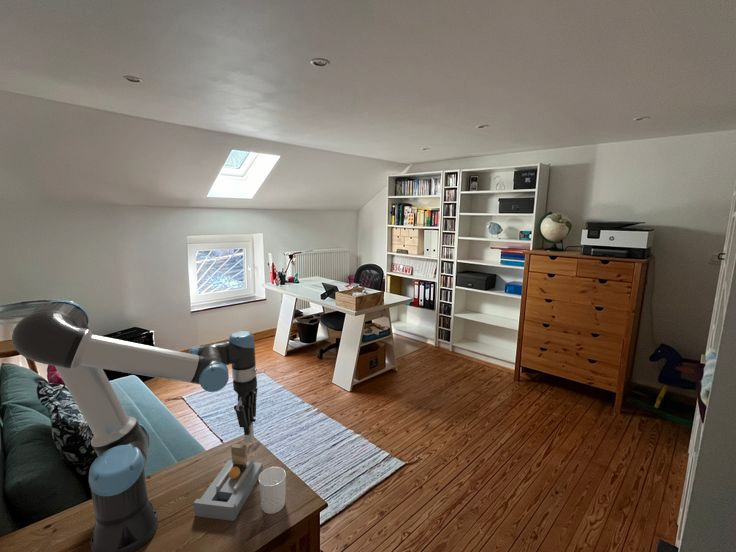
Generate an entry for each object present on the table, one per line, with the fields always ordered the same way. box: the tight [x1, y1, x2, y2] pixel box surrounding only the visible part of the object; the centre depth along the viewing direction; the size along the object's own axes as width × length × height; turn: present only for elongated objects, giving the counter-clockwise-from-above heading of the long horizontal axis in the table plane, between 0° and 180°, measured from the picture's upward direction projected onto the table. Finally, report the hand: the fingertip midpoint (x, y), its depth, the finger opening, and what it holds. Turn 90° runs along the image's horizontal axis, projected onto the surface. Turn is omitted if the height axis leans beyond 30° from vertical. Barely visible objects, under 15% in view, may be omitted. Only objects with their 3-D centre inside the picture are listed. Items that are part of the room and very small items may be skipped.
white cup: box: [257, 466, 287, 515], centre depth 108 cm, size 8×8×10 cm
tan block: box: [230, 443, 248, 472], centre depth 118 cm, size 2×4×8 cm, turn 83°
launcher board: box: [193, 459, 264, 522], centre depth 113 cm, size 20×12×4 cm, turn 173°
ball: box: [229, 467, 240, 479], centre depth 115 cm, size 4×4×4 cm
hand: (249, 440), depth 124 cm, fingers closed
